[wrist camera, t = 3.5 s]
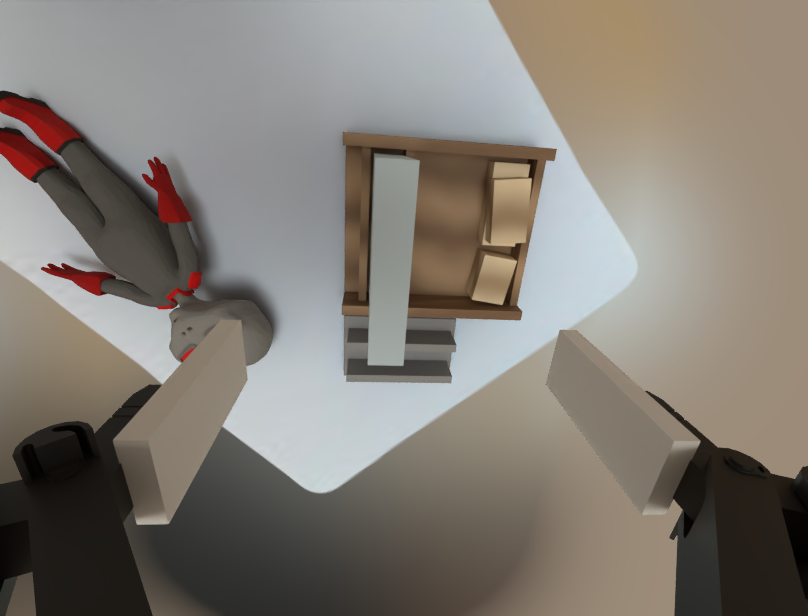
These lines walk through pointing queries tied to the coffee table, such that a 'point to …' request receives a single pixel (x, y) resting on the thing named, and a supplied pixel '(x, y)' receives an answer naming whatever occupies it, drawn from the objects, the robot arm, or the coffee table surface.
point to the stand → (422, 353)
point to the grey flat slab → (391, 256)
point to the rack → (435, 222)
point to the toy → (126, 232)
